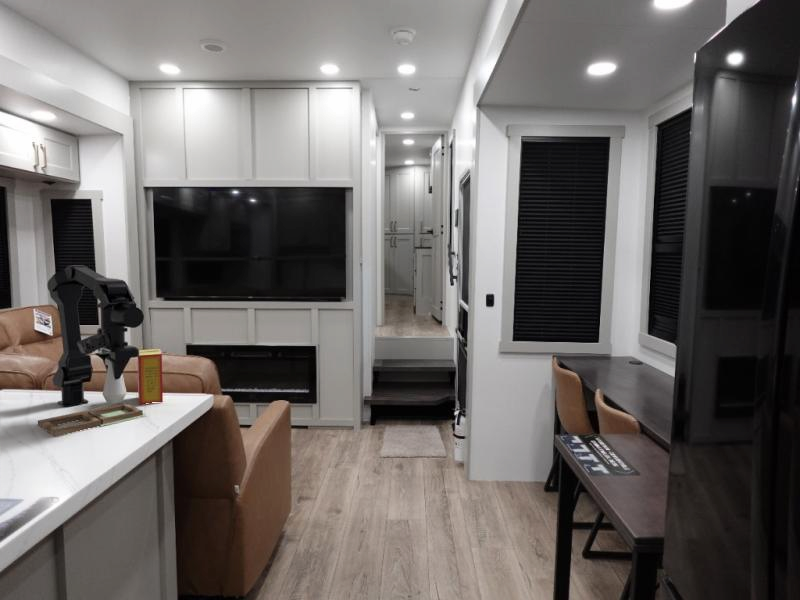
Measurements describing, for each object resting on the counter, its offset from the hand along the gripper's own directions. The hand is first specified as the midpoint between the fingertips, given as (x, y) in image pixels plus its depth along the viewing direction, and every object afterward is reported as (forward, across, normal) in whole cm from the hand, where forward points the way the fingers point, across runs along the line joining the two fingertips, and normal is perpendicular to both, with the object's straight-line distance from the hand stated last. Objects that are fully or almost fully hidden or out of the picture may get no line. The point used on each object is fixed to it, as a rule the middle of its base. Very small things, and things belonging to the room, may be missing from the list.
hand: (114, 378), depth 136 cm
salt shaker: (+7, 0, 0) cm, 7 cm away
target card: (+11, 0, 0) cm, 11 cm away
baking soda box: (+11, -9, +14) cm, 20 cm away
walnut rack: (+11, -1, -6) cm, 12 cm away
